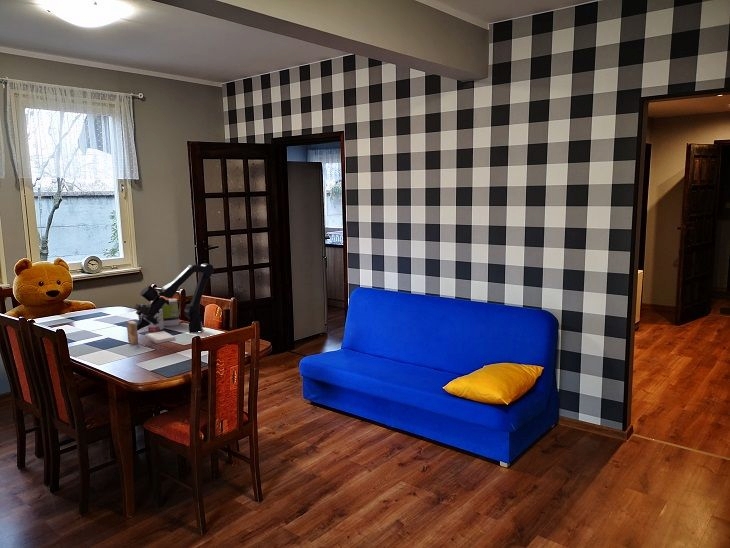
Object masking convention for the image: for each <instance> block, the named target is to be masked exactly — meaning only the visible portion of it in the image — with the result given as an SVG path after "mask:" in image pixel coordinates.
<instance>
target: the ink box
mask: <svg viewBox="0 0 730 548" xmlns="http://www.w3.org/2000/svg"><path fill="white" fill-rule="evenodd" d="M154 318H155V319H157V321H158V323H157V324H156V325H154V324H153V323H151V322H150V325H148V326H147V327H148V332H149V333H155V332H160V331H163V330H164V328H165V326H164V323H163V310H162V309H160V310H159V313H157V314H156V315H155V316H154ZM159 330H160V331H159Z"/></svg>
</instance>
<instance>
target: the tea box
mask: <svg viewBox="0 0 730 548" xmlns="http://www.w3.org/2000/svg"><path fill="white" fill-rule="evenodd" d="M165 299H166V300H167V299H168V300H169V305H167V304H164V305H163V307H162V308H161V309H162V310H163V323H164V327H173V326H180V315H179V307H178V298H165ZM152 302H153V301H150V303H149V305H150V304H151V303H152Z"/></svg>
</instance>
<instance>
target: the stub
mask: <svg viewBox="0 0 730 548" xmlns="http://www.w3.org/2000/svg"><path fill="white" fill-rule="evenodd" d="M137 324H138V322H136V321H134V320H129V321H126V331H127V341H128V343H130V344H131V345H137V344H139V334H138V331H137Z"/></svg>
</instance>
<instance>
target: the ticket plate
mask: <svg viewBox="0 0 730 548" xmlns="http://www.w3.org/2000/svg"><path fill="white" fill-rule="evenodd" d="M145 337H146V338H147V339H148V340H149V341H150V340H151V341H152V342H153V343H155V344H158V343H165V342H170V341H175V340H176V336H174V335H172V334H170V333H168V332H167V331H165V330H160V331H157V332H149V333H145Z"/></svg>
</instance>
